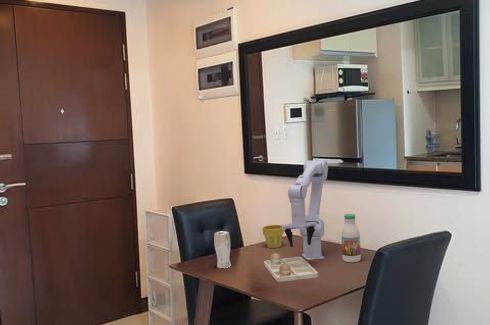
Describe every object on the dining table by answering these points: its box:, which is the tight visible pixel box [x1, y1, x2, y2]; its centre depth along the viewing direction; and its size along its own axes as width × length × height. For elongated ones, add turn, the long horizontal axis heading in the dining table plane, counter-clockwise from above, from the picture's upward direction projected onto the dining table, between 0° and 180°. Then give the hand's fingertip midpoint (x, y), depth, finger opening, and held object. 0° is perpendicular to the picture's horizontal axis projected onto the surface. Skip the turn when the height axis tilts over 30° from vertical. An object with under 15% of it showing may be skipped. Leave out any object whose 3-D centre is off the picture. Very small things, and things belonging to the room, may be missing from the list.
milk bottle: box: [341, 213, 362, 263], centre depth 222 cm, size 8×8×20 cm
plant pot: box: [262, 224, 285, 249], centre depth 254 cm, size 10×10×10 cm
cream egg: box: [269, 252, 282, 266], centre depth 219 cm, size 4×4×6 cm
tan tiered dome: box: [279, 263, 291, 277], centre depth 203 cm, size 4×4×6 cm
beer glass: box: [213, 230, 232, 269], centre depth 225 cm, size 7×7×15 cm
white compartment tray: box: [263, 256, 320, 283], centre depth 212 cm, size 25×17×2 cm
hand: (300, 245), depth 216 cm, fingers open, 7 cm apart
